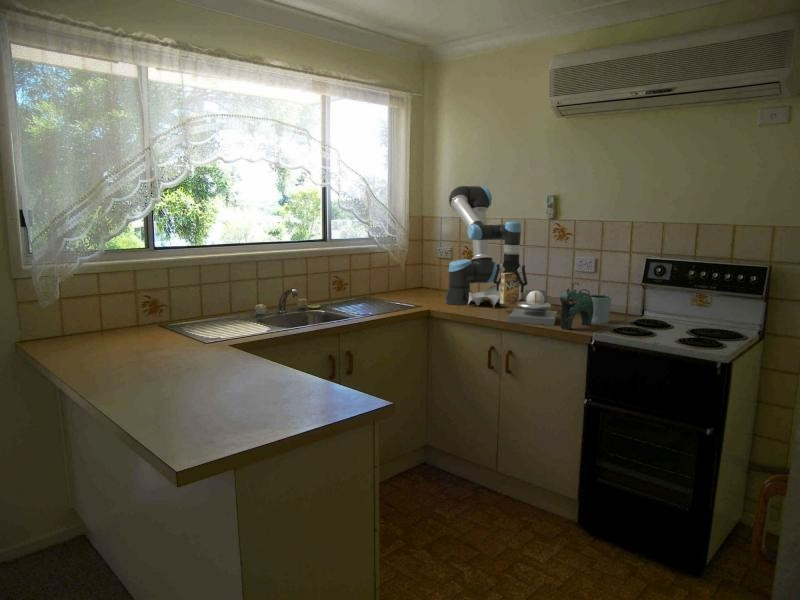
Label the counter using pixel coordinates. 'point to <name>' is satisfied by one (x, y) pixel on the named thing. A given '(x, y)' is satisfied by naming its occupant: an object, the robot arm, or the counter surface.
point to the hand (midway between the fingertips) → (509, 298)
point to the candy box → (509, 288)
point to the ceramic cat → (575, 307)
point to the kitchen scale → (534, 310)
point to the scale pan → (533, 305)
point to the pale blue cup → (601, 308)
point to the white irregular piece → (489, 293)
